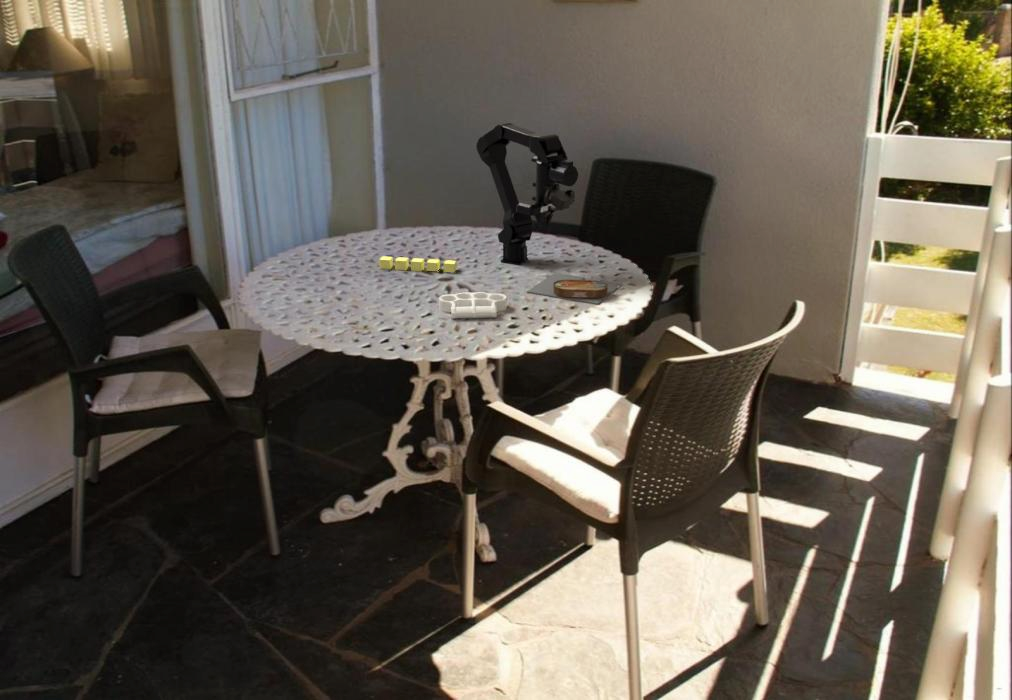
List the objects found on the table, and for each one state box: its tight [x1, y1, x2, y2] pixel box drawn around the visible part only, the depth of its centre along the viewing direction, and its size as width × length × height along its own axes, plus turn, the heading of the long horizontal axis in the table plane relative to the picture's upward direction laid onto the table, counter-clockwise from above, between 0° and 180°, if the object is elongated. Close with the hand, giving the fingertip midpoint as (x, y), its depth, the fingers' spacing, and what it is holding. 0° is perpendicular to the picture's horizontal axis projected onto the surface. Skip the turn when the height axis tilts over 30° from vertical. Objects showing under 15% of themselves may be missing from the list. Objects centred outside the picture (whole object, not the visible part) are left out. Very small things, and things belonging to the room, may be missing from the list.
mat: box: [526, 272, 623, 306], centre depth 283 cm, size 21×19×1 cm
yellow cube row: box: [378, 255, 458, 273], centre depth 300 cm, size 32×32×3 cm
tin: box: [553, 279, 608, 298], centre depth 277 cm, size 15×3×8 cm
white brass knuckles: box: [438, 291, 508, 320], centre depth 266 cm, size 3×18×15 cm
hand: (544, 232), depth 293 cm, fingers closed
